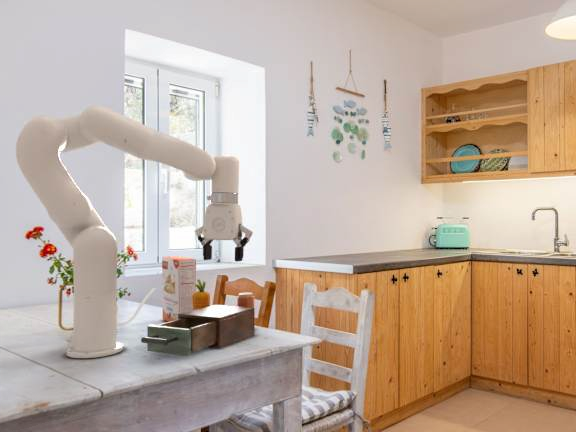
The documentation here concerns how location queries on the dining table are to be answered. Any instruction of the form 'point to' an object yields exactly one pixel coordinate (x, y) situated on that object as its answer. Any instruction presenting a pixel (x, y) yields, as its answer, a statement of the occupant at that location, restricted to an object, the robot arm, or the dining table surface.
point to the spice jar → (245, 300)
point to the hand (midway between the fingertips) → (222, 260)
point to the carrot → (201, 297)
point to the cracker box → (177, 285)
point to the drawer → (181, 336)
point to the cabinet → (226, 322)
